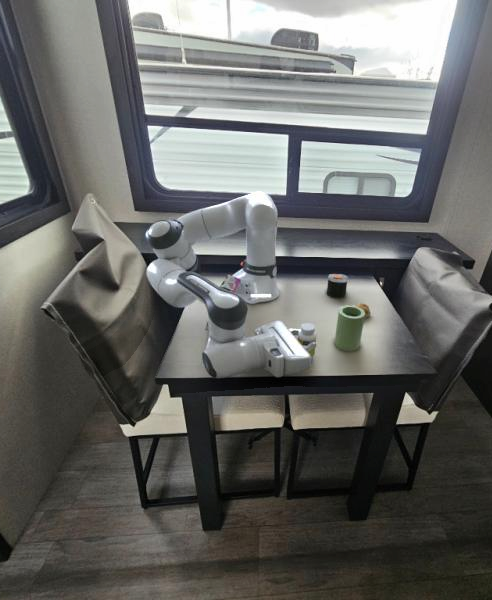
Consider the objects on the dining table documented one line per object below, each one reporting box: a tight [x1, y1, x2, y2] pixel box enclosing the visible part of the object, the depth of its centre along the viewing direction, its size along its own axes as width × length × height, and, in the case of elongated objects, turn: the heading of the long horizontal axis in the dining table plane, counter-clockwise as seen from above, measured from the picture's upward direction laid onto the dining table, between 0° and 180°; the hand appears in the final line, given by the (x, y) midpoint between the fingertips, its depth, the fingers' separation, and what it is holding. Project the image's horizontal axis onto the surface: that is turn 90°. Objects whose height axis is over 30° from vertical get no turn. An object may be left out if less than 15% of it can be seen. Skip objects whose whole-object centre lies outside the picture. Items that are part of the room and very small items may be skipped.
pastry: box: [353, 302, 372, 318], centre depth 117 cm, size 9×7×4 cm
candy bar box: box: [204, 274, 241, 332], centre depth 102 cm, size 11×5×16 cm, turn 179°
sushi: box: [326, 273, 349, 299], centre depth 131 cm, size 8×8×8 cm
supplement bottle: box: [297, 322, 317, 359], centre depth 92 cm, size 5×5×10 cm
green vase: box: [334, 304, 366, 352], centre depth 99 cm, size 8×8×12 cm
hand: (309, 337), depth 92 cm, fingers closed on supplement bottle, 5 cm apart
